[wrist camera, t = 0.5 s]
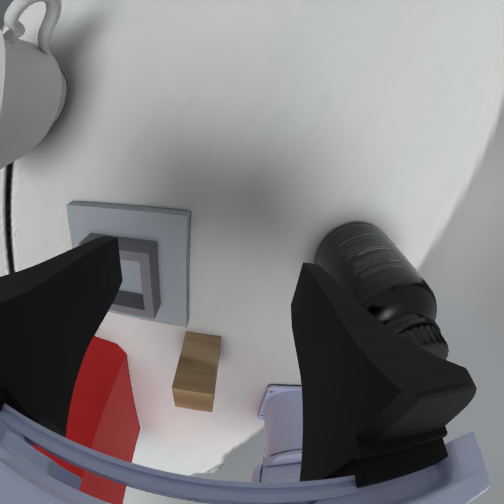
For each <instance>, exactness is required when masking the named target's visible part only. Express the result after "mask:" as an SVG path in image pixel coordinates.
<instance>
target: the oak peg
mask: <svg viewBox="0 0 504 504" xmlns="http://www.w3.org/2000/svg"><path fill="white" fill-rule="evenodd" d="M220 340H221V336H214V335H207V334H200V333H193V332H186V335H185V339H184V343H183V347H182V350H181V354H180V358H179V362H178V366H177V370H176V374H175V378H174V382H173V386H172V391H173V396H174V402H175V406H177V407H182V408H188V409H194V410H201V411H208V412H212V410H213V402H214V393H215V385H216V377H217V369H218V361H219V351H220Z"/></svg>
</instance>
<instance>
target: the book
mask: <svg viewBox="0 0 504 504" xmlns="http://www.w3.org/2000/svg"><path fill="white" fill-rule="evenodd" d="M139 431H140V426H139V422H138V418H137V413H136V408H135V403H134V398H133V393H132V387H131V381H130V375H129V369H128V362H127V354H126V353H125V352H124V351H123V350H122V349H121V348H120V347H119V346H118V345H117V344H116V343H113V342H110V341H107V340H104V339H101V338H98V337H96V336H94V337H93V338H92V340H91V342H90V344H89V346H88V348H87V351H86V353H85V356H84V359H83V361H82V364H81V367H80V370H79V373H78V376H77V380H76V383H75V387H74V391H73V395H72V399H71V404H70V409H69V415H68V422H67V430H66V436H65V438H67V439H69V440H71V441H73V442H76V443H78V444H80V445H83V446H85V447H88V448H90V449H93V450H95V451H98V452H100V453H103V454H106V455H109V456H112V457H115V458H118V459H121V460H124V461H127V462H130V463H131V462H132V458H133V454H134V450H135V446H136V442H137V438H138V434H139ZM33 445H34V444H33ZM34 447H35V449H36V450H38V451H39V452H41V453H42V454H44V455H46V456H47V457H49V458H51V459H52V460H53V461H54V462H56V463H57V464H58V465H60V466H61V467H63V468H64V469H66V470H68V471H69V472H71V473H73V474H75V475H77V476H78V477H80V478H81V480H82V481H81V484H80V491H81V492H83V493H86V494H88V495H90V496H93V497H95V498H98V499H100V500H103V501H105V502H108V503H111V504H123V499H124V494H125V489H126V486H125V485H122V484H119V483H116V482H113V481H110V480H108V479H105V478H102V477H100V476H97V475H95V474H92V473H90V472H87V471H85V470H83V469H80V468H78V467H76V466H74V465H71V464H69V463H67V462H65V461H63V460H61V459H59V458H57V457H55V456H53V455H52V454H50V453H48V452H46V451H44V450H42V449H41V448H39V447H37V446H36V445H34Z"/></svg>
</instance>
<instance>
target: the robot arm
mask: <svg viewBox="0 0 504 504" xmlns="http://www.w3.org/2000/svg"><path fill="white" fill-rule="evenodd" d="M122 281H123V278H122V271H121V263H120V254H119V244H118V237H112V236H102V237H99V238H96V239H93V240H91V241H89V242H86V243H84V244H82V245H80V246H77V247H75V248H73V249H71V250H69V251H67V252H65V253H62V254H60V255H58V256H56V257H53V258H51V259H49V260H47V261H45V262H42V263H40V264H38V265H35V266H32V267H30V268H27V269H24V270H22V271H19V272H15V273H12V274H8V275H5V276H2V277H0V504H111V503H108V502H105V501H103V500H100V499H98V498H95V497H93V496H90V495H88V494H86V493H83V492H81V491H80V484H81V481H82V480H81V478H80V477H78V476H77V475H75V474H73V473H71V472H69V471H68V470H66V469H64V468H63V467H61V466H60V465H58V464H57V463H56V462H54V461H53V460H52V459H51V458H49V457H47V456H46V455H44V454H42V453H41V452H39V451H38V450H36V449H35V447H34V445H36V446H37V447H39V448H41V449H42V450H44V451H46V452H48V453H50V454H52V455H53V456H55V457H57V458H59V459H61V460H63V461H65V462H67V463H69V464H71V465H74V466H76V467H78V468H80V469H83V470H85V471H87V472H90V473H92V474H95V475H97V476H100V477H102V478H105V479H108V480H110V481H113V482H116V483H119V484H122V485H125V486H129V487H132V488H135V489H139V490H143V491H146V492H150V493H154V494H158V495H162V496H167V497H172V498H177V499H183V500H188V501H195V502H202V503H210V504H467V503H469V502H470V501H472V500H473V499H475V498H476V497H477V496H479V495H480V494H482V493H483V492H484V491H486V490H487V489H489V488H490V486H491V483H490V480H489V476H488V473H487V469H486V466H485V463H484V460H483V457H482V454H481V451H480V448H479V445H478V442H477V439H476V437H475V434H474V432H470V433H468V434H465V435H463V436H461V437H459V438H456V439H454V440H452V441H450V442H448V443H447V444H444V441H443V437H445V436H446V435H447V430H446V427H445V425H446V424H447V423H448V422H450V421H451V420H452V419H453V418H454V417H455V416H456V415H458V414H459V413H460V412H461V411H462V410H463V409H464V408H465V407H466V406H467V405H468V404H469V402H470V401H471V400H472V399H473V397H474V395H475V393H476V386H475V384H474V382H473V380H472V378H471V376H470V374H469V373H468V371H467V369H466V368H464V367H462V366H459V365H457V364H454V363H452V362H449V361H447V360H444V359H442V358H440V357H438V356H436V355H434V354H432V353H430V352H428V351H426V350H424V349H422V348H420V347H418V346H417V345H415V344H413V343H411V342H410V341H408V340H407V339H405V338H404V337H402V336H400V335H399V334H397V333H396V332H394V331H393V330H391V329H390V328H389V327H387V326H386V325H385V324H383V323H382V322H381V321H379V320H378V319H377V318H376V317H374V316H373V315H372V314H371V313H369V312H368V311H367V310H366V309H365V308H364V307H363V306H362V305H360V304H359V303H358V302H357V301H356V300H355V299H354V298H353V297H352V296H351V295H350V294H349V293H348V292H347V291H346V290H345V289H344V288H343V287H342V286H341V285H340V284H339V283H338V282H337V281H336V280H335V279H334V278H333V277H332V276H331V275H330V274H329V273H328V272H327V271H326V270H324V269H323V268H322V267H321V266H320V265H318V264H311V263H303V265H302V269H301V273H300V276H299V280H298V283H297V287H296V290H295V293H294V297H293V300H292V303H291V316H292V329H293V335H294V341H295V347H296V352H297V358H298V363H299V369H300V375H301V383H302V386H277V385H271V386H269V387H268V389H267V391H266V394H265V397H264V400H263V402H262V405H261V408H260V411H259V413H258V416H257V418H258V419H264V436H265V437H264V440H265V443H264V445H265V454H266V457H264V458H263V464H259V465H258V466H257V467H256V468H255V469H254V471H253V474H252V482H236V481H223V480H213V479H205V478H199V477H192V476H186V475H180V474H175V473H170V472H165V471H161V470H157V469H152V468H148V467H145V466H141V465H137V464H134V463H130V462H127V461H124V460H121V459H118V458H115V457H112V456H109V455H106V454H103V453H100V452H98V451H95V450H93V449H90V448H88V447H85V446H83V445H80V444H78V443H76V442H73V441H71V440H69V439H67V438H65V436H66V430H67V422H68V415H69V409H70V404H71V399H72V395H73V391H74V387H75V383H76V380H77V376H78V373H79V370H80V367H81V364H82V361H83V359H84V356H85V353H86V351H87V348H88V346H89V344H90V342H91V340H92V338H93V337H94V335H95V333H96V331H97V329H98V328H99V326H100V324H101V322H102V321H103V319H104V317H105V316H106V314H107V312H108V310H109V309H110V307H111V305H112V304H113V302H114V300H115V298H116V295H117V293H118V291H119V288H120V286H121V284H122ZM33 444H34V445H33Z"/></svg>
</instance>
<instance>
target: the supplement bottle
mask: <svg viewBox="0 0 504 504" xmlns="http://www.w3.org/2000/svg"><path fill="white" fill-rule="evenodd" d="M316 264H318V265H320V266H321V267H322V268H323V269H324V270H326V271H327V272H328V273H329V274H330V275H331V276H332V277H333V278H334V279H335V280H336V281H337V282H338V283H339V284H340V285H341V286H342V287H343V288H344V289H345V290H346V291H347V292H348V293H349V294H350V295H351V296H352V297H353V298H354V299H355V300H356V301H357V302H358V303H359V304H360V305H362V306H363V307H364V308H365V309H366V310H367V311H368V312H369V313H371V314H372V315H373V316H374V317H376V318H377V319H378V320H379V321H381V322H382V323H383V324H385V325H386V326H387V327H389V328H390V329H391V330H393V331H394V332H396V333H397V334H399V335H400V336H402V337H404V338H405V339H407V340H408V341H410V342H411V343H413V344H415V345H417V346H418V347H420V348H422V349H424V350H426V351H428V352H430V353H432V354H434V355H436V356H438V357H440V358H442V359H444V360H446V358H447V356H448V352H449V350H448V345H447V343H446V341H445V340H444V338H443V336H442V335H441V332H440V328H439V326H438V325H437V324H436V322H435V319H436V313H437V305H436V299H435V296H434V293H433V292H432V290H431V289H430V287H429V286H428V284H427V283H426V282H425V280H424V279H423V278H422V277H421V276H420V274H419V273H418V272H417V271H416V269H415V268H414V267H413V266H412V264H411V263H410V262H409V261H408V260H407V258H406V257H405V256H404V255H403V254H402V253H401V251H400V250H399V249H398V248H397V247H396V246H395V245H394V243H393V242H392V241H391V240H390V239H389V238H388V237H387V236H386V235H385V234H384V233H383V232H382V231H381V230H380V229H378V228H377V227H375V226H372V225H370V224H365V223H355V224H350V225H346V226H344V227H342V228H340V229H338V230H336V231H335V232H333V233H332V234H331V235H330V236H329V237H328V238H327V239H326V240H325V241H324V243H323V244H322V246H321V247H320V249H319V251H318V254H317V258H316Z"/></svg>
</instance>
